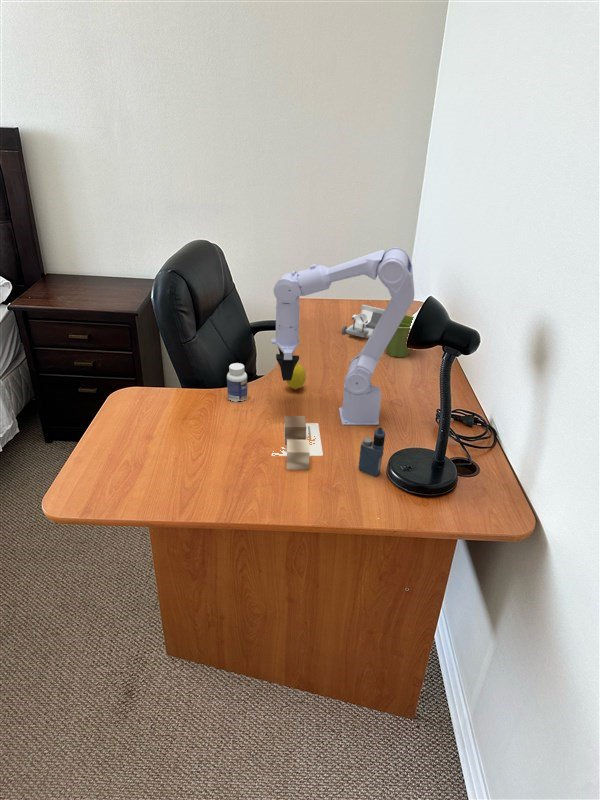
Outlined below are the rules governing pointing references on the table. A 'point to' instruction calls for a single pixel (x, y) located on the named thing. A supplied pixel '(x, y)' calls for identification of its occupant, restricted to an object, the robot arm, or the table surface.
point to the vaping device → (372, 453)
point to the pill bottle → (237, 382)
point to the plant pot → (400, 339)
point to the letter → (314, 448)
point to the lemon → (297, 377)
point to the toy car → (364, 322)
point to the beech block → (298, 454)
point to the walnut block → (294, 428)
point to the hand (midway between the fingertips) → (286, 372)
